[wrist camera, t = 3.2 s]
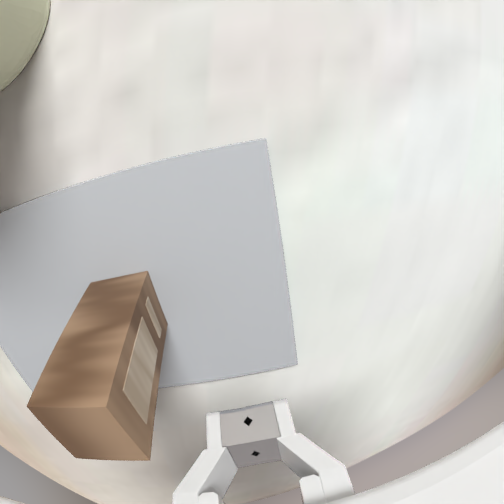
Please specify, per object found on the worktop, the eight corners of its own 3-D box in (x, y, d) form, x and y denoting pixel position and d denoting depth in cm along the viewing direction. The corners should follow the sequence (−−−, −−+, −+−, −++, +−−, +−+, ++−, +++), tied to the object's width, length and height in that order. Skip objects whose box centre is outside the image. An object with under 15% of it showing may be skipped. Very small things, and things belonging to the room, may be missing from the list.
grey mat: (265, 138, 16) (266, 138, 16) (296, 360, 23) (297, 364, 23) (-51, 236, 16) (-54, 238, 15) (35, 390, 22) (34, 394, 22)
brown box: (148, 270, 18) (107, 406, 9) (168, 323, 20) (151, 460, 11) (90, 282, 18) (26, 406, 9) (113, 332, 20) (76, 457, 11)
